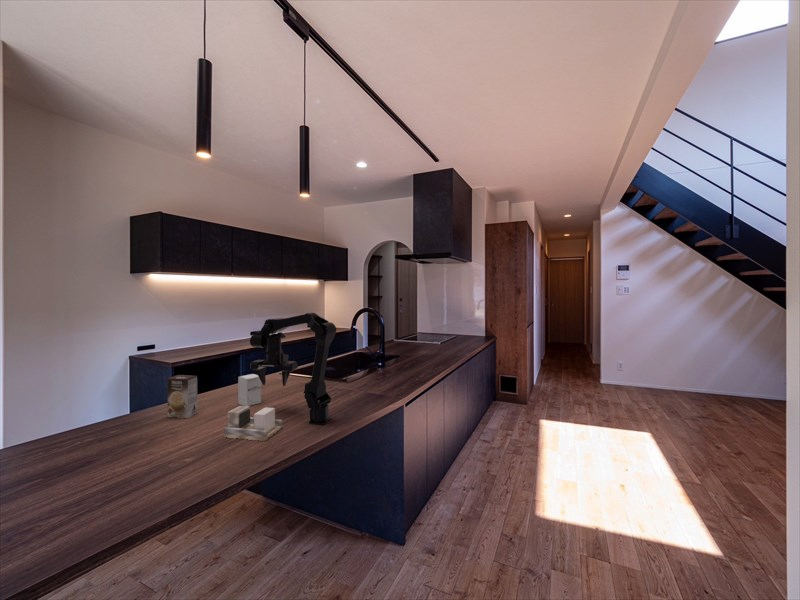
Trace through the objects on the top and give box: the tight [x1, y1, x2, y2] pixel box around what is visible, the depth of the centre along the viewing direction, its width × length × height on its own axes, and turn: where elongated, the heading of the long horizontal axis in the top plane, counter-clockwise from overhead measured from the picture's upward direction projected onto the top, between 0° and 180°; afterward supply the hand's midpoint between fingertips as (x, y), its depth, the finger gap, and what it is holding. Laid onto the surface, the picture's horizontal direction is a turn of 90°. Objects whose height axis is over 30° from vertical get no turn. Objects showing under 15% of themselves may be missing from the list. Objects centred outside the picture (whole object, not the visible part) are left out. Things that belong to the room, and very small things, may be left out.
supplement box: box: [237, 373, 262, 407], centre depth 159 cm, size 7×7×13 cm
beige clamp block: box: [223, 405, 283, 442], centre depth 127 cm, size 16×12×8 cm
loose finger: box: [253, 407, 276, 432], centre depth 126 cm, size 5×7×7 cm, turn 169°
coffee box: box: [167, 374, 198, 419], centre depth 143 cm, size 9×6×16 cm
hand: (274, 385), depth 146 cm, fingers open, 9 cm apart
